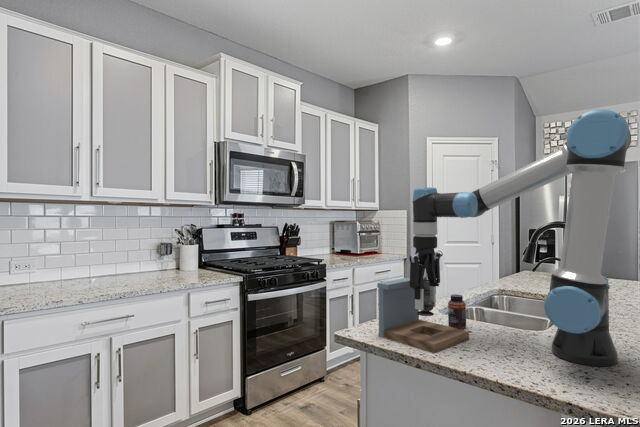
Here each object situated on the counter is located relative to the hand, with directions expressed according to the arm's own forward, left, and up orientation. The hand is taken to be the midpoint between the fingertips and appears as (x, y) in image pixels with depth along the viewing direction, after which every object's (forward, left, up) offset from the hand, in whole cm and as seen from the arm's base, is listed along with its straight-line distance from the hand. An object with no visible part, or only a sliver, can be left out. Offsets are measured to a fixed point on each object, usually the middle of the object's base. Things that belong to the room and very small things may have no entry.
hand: (425, 307), depth 125 cm
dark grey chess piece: (0, 0, -2) cm, 2 cm away
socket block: (0, 0, -10) cm, 10 cm away
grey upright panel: (+9, 0, -10) cm, 14 cm away
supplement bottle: (0, -19, -10) cm, 21 cm away
